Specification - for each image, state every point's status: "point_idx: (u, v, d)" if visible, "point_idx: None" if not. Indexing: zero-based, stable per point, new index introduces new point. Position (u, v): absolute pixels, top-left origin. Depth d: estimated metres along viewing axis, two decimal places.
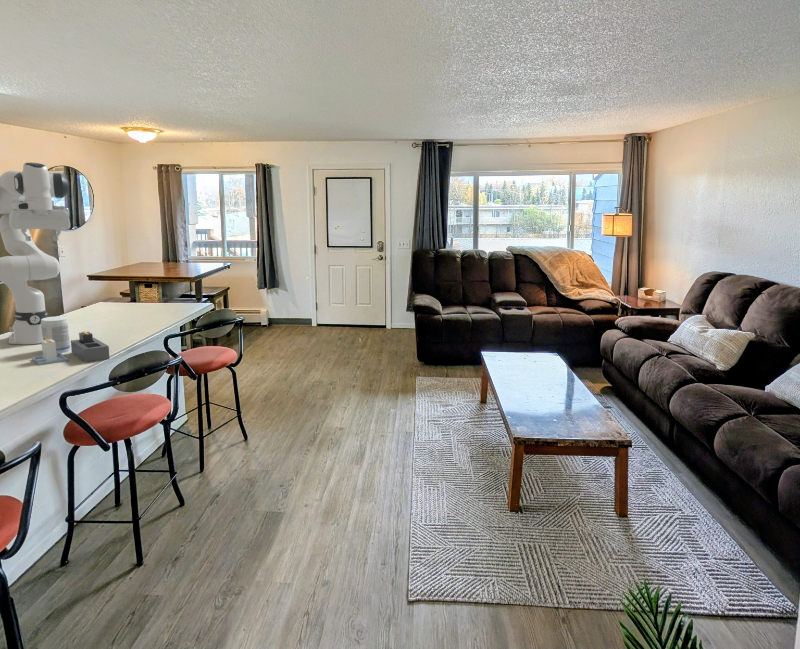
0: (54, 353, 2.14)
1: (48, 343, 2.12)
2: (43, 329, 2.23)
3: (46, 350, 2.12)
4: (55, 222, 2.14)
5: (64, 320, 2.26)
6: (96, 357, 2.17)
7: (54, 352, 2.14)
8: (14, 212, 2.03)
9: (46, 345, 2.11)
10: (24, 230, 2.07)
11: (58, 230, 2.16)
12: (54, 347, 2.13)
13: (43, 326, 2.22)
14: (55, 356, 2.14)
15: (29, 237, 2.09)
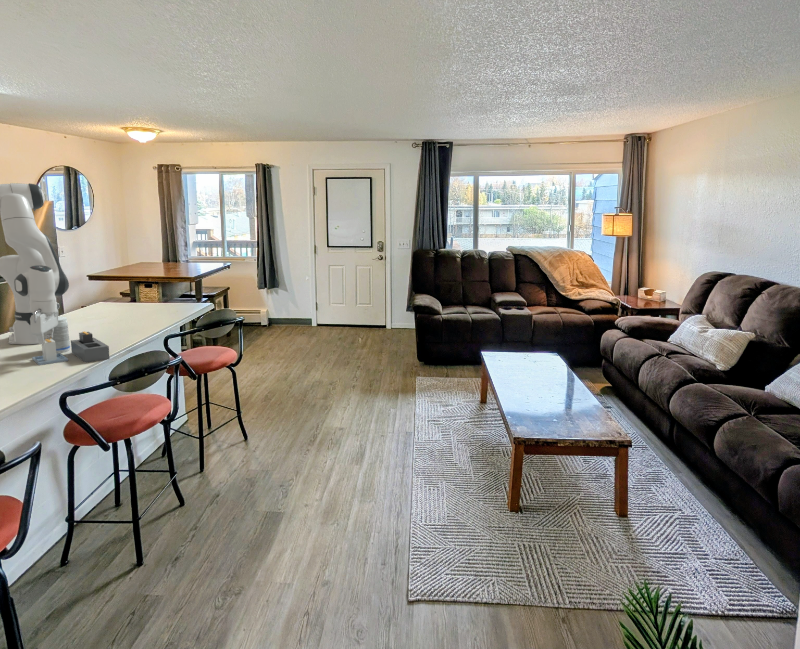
0: (54, 353, 2.14)
1: (48, 343, 2.12)
2: None
3: (46, 350, 2.12)
4: None
5: (64, 320, 2.26)
6: (96, 357, 2.17)
7: (54, 352, 2.14)
8: None
9: (46, 345, 2.11)
10: None
11: None
12: (54, 347, 2.13)
13: None
14: (55, 356, 2.14)
15: None
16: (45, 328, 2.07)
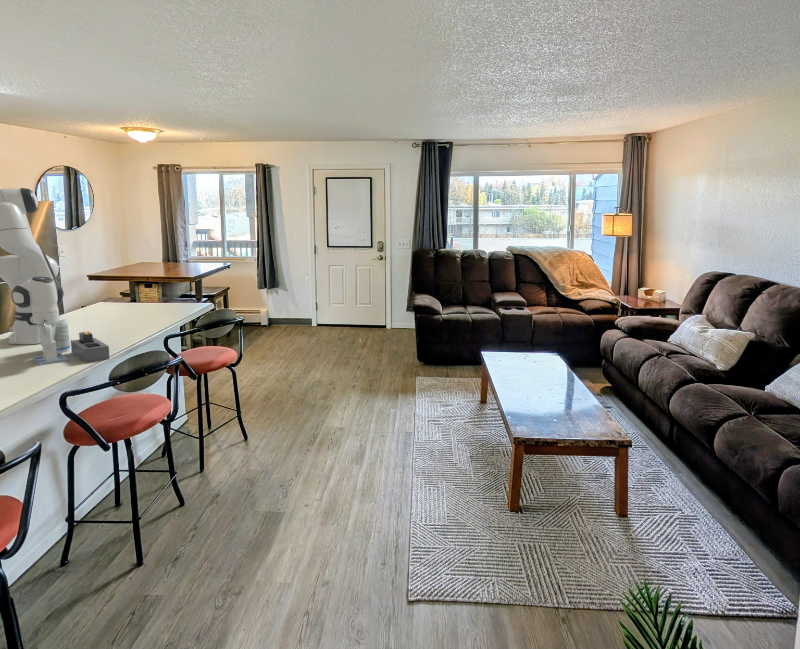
0: (54, 353, 2.14)
1: None
2: None
3: None
4: None
5: (64, 320, 2.26)
6: (96, 357, 2.17)
7: (54, 352, 2.14)
8: None
9: None
10: None
11: None
12: (54, 347, 2.14)
13: None
14: (55, 356, 2.14)
15: None
16: (52, 338, 2.10)
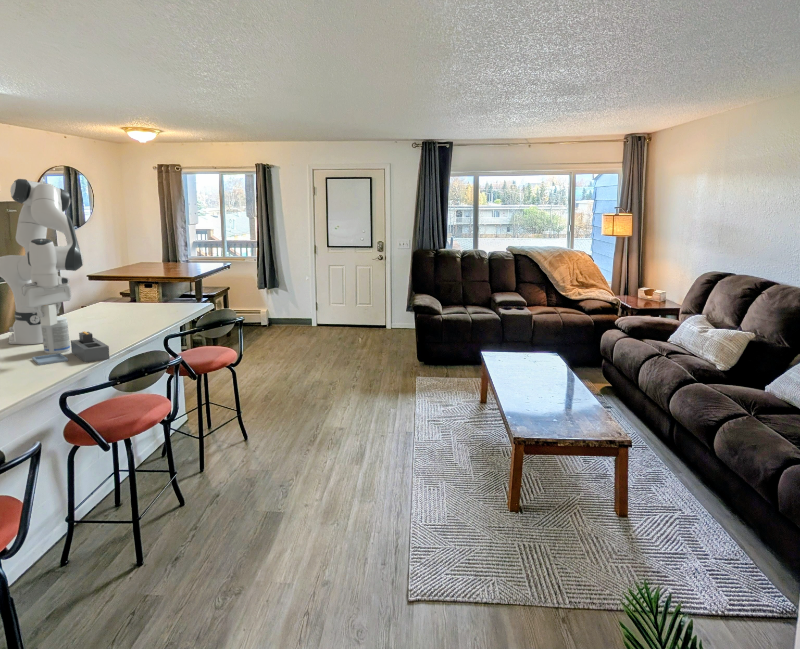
0: (47, 317, 2.10)
1: (41, 306, 2.09)
2: (43, 329, 2.23)
3: None
4: None
5: (64, 320, 2.26)
6: (96, 357, 2.17)
7: (47, 316, 2.09)
8: None
9: None
10: None
11: None
12: (47, 311, 2.09)
13: (43, 326, 2.22)
14: (48, 321, 2.10)
15: None
16: (38, 302, 2.05)
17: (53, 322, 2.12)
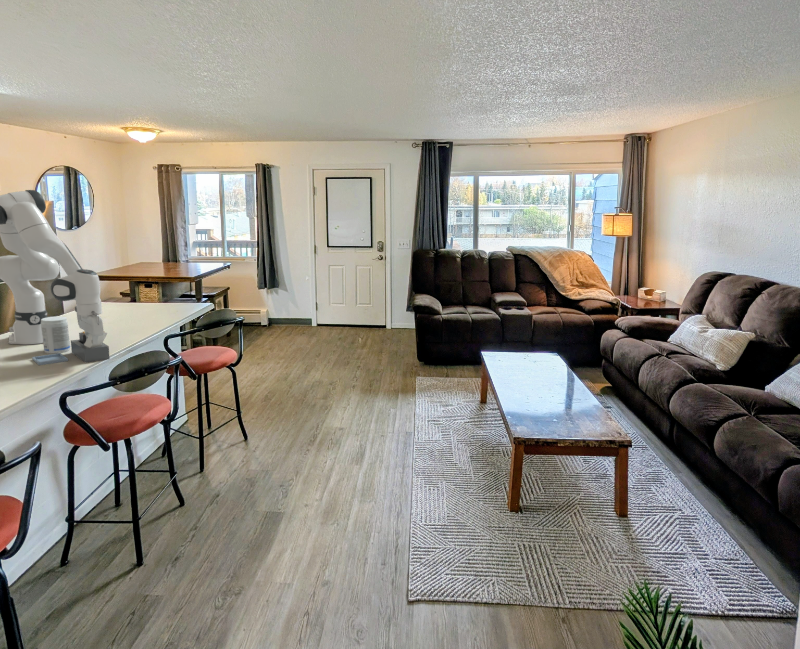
0: (100, 343, 2.20)
1: None
2: (43, 329, 2.23)
3: None
4: (89, 327, 2.13)
5: (64, 320, 2.26)
6: (96, 357, 2.17)
7: (100, 342, 2.20)
8: None
9: None
10: None
11: (92, 335, 2.15)
12: (103, 337, 2.20)
13: (43, 326, 2.22)
14: None
15: (86, 338, 2.21)
16: None
17: None
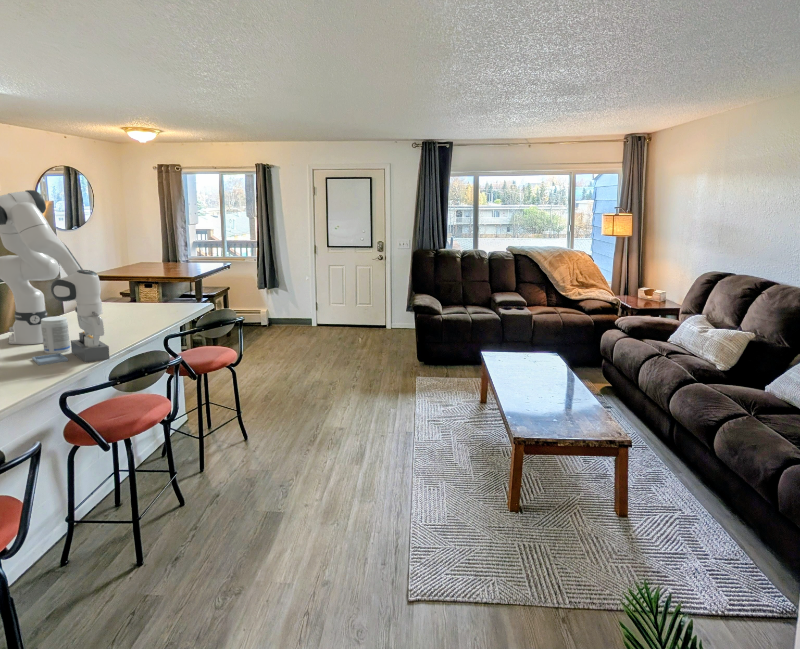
0: None
1: (91, 339, 2.17)
2: (43, 329, 2.23)
3: (89, 346, 2.17)
4: (90, 328, 2.14)
5: (64, 320, 2.26)
6: (96, 357, 2.17)
7: None
8: (77, 314, 2.21)
9: (89, 341, 2.16)
10: (84, 331, 2.22)
11: (93, 335, 2.14)
12: None
13: (43, 326, 2.22)
14: None
15: None
16: None
17: None
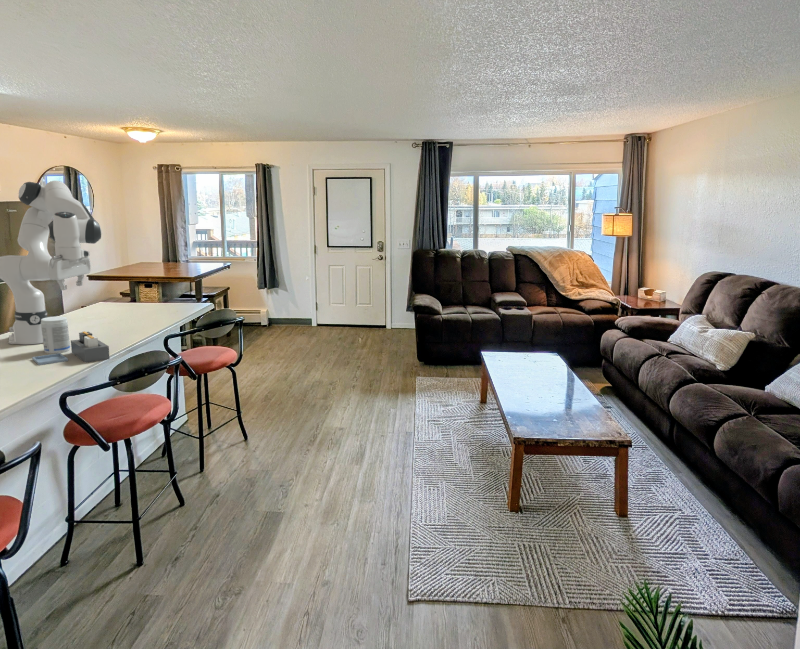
0: None
1: (90, 339, 2.17)
2: (43, 329, 2.23)
3: (89, 346, 2.17)
4: None
5: (64, 320, 2.26)
6: (96, 357, 2.17)
7: None
8: None
9: (89, 341, 2.16)
10: None
11: None
12: (96, 343, 2.19)
13: (43, 326, 2.22)
14: None
15: None
16: (65, 274, 2.09)
17: None
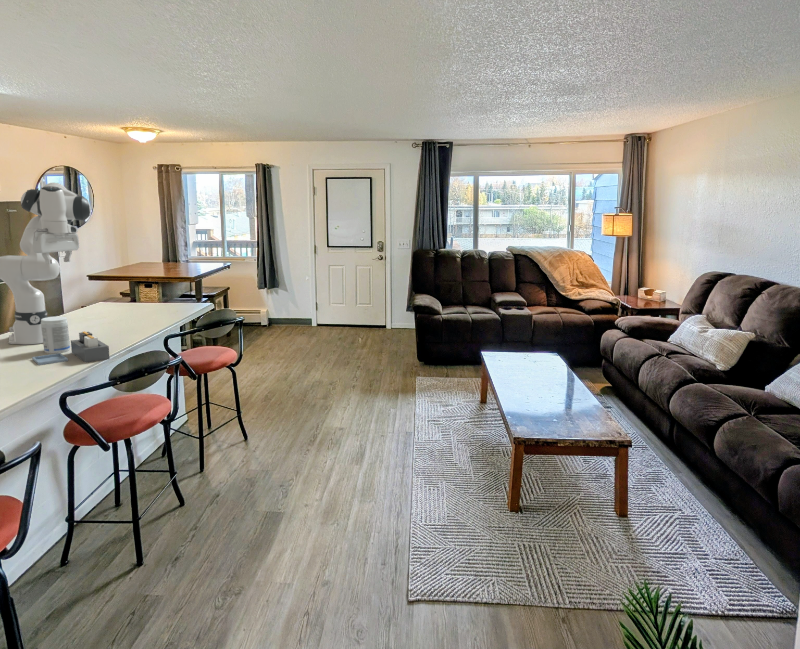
0: None
1: (90, 339, 2.17)
2: (43, 329, 2.23)
3: (89, 346, 2.17)
4: None
5: (64, 320, 2.26)
6: (96, 357, 2.17)
7: None
8: None
9: (89, 341, 2.16)
10: None
11: None
12: (96, 343, 2.19)
13: (43, 326, 2.22)
14: None
15: None
16: (49, 248, 2.09)
17: None
